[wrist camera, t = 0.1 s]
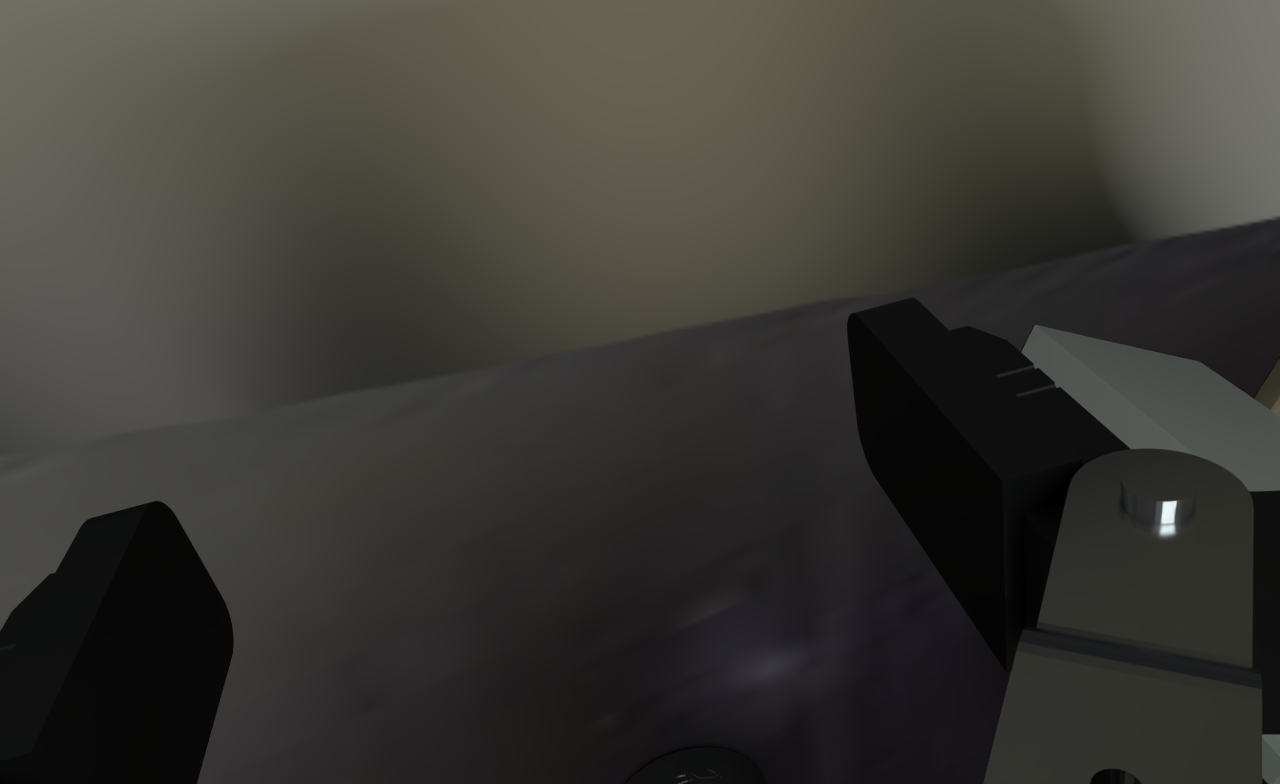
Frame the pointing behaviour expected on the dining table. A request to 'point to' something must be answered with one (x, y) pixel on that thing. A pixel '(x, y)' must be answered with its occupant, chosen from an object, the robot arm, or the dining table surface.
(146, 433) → the dining table surface
